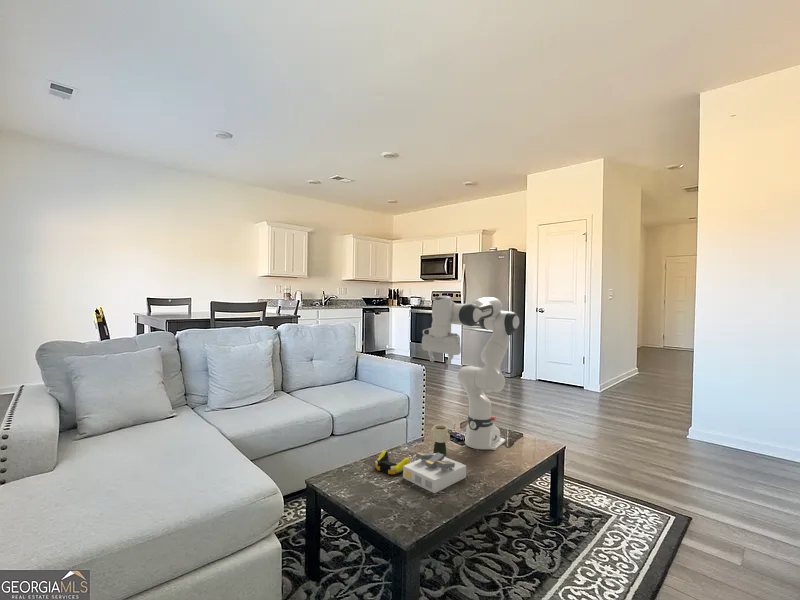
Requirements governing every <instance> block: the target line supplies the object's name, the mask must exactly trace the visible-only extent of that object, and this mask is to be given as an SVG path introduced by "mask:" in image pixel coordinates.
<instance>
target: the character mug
mask: <svg viewBox="0 0 800 600" xmlns="http://www.w3.org/2000/svg"><path fill="white" fill-rule="evenodd" d="M430 434H431V436H432V441H433V442H434V445H433V453H432V454H434V453H441V454H443V455H444V456H446V455H447V445H446V442H449V441H451V434H450V433H449V427H448V426H447V425H443V424H436V425H435V424H434V426H432V428H431V429H430Z"/></svg>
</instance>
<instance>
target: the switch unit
mask: <svg viewBox="0 0 800 600" xmlns="http://www.w3.org/2000/svg"><path fill="white" fill-rule="evenodd" d="M432 454H433V455H435V454H436V453H432ZM427 460H429V459H419V458H418V459H417V460H415V461H412V462H410V463H409V464H407V465H404V466H403V471H402V478H403V479H405V480H406V481H408V482H410V483H412V484H415V485H417V486H419V487H420V488H423V489H425V490H426V491H429V492H430V493H432V494H436V493H438V492H440V491H442V490H445V489H446V488H448V487H450V486H451V485H454V484H455V483H458V482H460V481H461V480H463V479H465V478H467V465H466V464H463V463H462V462H460V461H457V460H454V459H451V458H448V457H447V456H444V459H443V460H442V461H450V462H453V463H455V467H453V468H441V467H438V466H434V467H433V468H431V467H428V466H426V463H425V462H426V461H427Z"/></svg>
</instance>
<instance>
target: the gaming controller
mask: <svg viewBox="0 0 800 600" xmlns="http://www.w3.org/2000/svg"><path fill="white" fill-rule="evenodd" d="M374 463H375V466H374V467H375V468H376V470H377V471H380V472H382V473H385V474H388V475H397V474H400V473H402V472H403V466H404V465H407V464H409V463H411V462H410V459H409V458H408V457H405V458H403V459H402V460H401V461H400V462H398V463H395V462H392V461H390V460H389V453H388V451H387V450H383V451H382V452H381V453H380V455H379V456H378V458H377V459H376V460H375V462H374Z"/></svg>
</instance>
